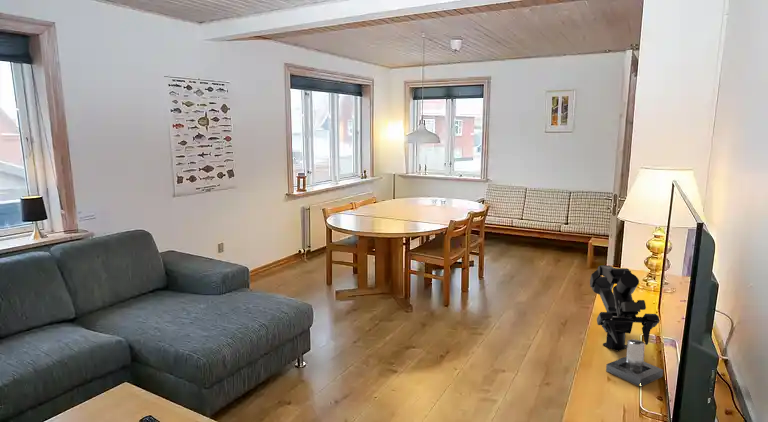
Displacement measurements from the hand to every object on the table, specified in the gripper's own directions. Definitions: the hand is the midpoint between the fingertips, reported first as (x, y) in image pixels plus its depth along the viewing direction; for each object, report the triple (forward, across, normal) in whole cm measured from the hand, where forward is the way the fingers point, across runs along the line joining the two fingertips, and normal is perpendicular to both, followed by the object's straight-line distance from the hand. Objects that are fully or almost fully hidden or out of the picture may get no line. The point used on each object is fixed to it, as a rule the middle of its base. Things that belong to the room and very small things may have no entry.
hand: (631, 343), depth 162 cm
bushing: (+9, 0, +4) cm, 10 cm away
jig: (+9, 0, +4) cm, 10 cm away
